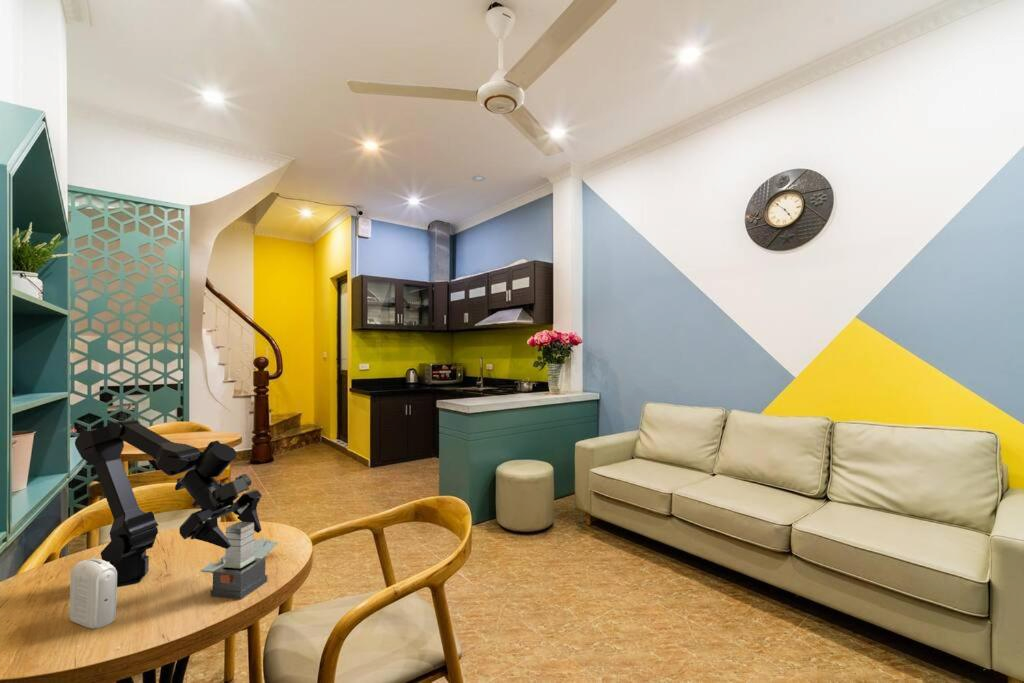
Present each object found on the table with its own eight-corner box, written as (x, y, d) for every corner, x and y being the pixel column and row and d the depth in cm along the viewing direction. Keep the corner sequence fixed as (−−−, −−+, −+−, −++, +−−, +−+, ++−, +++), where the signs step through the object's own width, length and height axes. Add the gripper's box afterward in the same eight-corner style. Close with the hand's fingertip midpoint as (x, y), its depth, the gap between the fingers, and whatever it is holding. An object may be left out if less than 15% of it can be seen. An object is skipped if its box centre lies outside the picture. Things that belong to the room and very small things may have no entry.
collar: (209, 597, 99) (209, 572, 99) (238, 579, 107) (238, 556, 107) (240, 599, 97) (240, 574, 97) (267, 581, 105) (267, 558, 105)
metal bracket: (240, 531, 123) (285, 534, 120) (245, 548, 125) (290, 552, 121) (195, 568, 110) (244, 573, 106) (200, 587, 111) (250, 593, 108)
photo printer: (119, 619, 90) (121, 559, 91) (93, 632, 86) (95, 568, 87) (91, 610, 94) (92, 552, 95) (65, 621, 90) (66, 560, 91)
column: (224, 567, 100) (224, 528, 101) (239, 559, 105) (239, 521, 105) (240, 569, 100) (240, 529, 100) (254, 560, 104) (255, 522, 104)
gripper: (191, 477, 95) (234, 531, 92) (255, 458, 113) (293, 502, 111) (160, 512, 96) (202, 566, 93) (229, 487, 114) (266, 532, 112)
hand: (245, 539), depth 102 cm, fingers open, 9 cm apart
